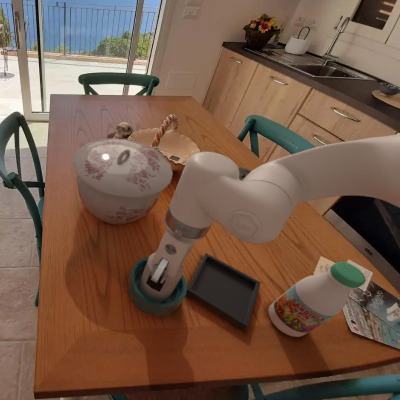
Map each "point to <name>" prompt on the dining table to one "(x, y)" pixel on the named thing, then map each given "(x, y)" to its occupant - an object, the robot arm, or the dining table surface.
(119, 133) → the skull
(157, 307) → the bowl
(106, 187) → the chamber pot
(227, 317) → the tray
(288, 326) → the milk bottle
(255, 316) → the dining table surface
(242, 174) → the lid
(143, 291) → the can
